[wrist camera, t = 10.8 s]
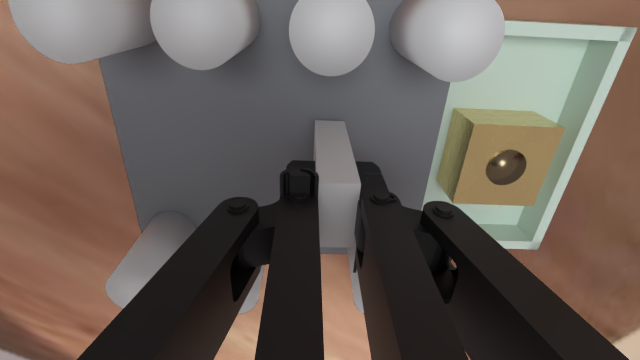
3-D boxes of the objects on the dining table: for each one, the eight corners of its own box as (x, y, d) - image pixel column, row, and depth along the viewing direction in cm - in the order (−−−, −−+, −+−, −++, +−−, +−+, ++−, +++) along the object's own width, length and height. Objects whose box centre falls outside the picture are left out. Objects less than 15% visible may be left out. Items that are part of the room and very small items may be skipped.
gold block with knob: (436, 179, 21) (453, 204, 19) (453, 107, 19) (475, 124, 16) (507, 182, 21) (534, 207, 19) (533, 111, 19) (566, 128, 17)
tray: (406, 225, 23) (414, 245, 21) (449, 16, 17) (466, 18, 15) (519, 228, 24) (537, 249, 22) (601, 24, 17) (637, 27, 16)
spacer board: (158, 229, 23) (101, 313, 17) (102, -27, 16) (-30, -43, 10) (403, 236, 24) (435, 320, 18) (454, -6, 17) (536, -10, 11)
